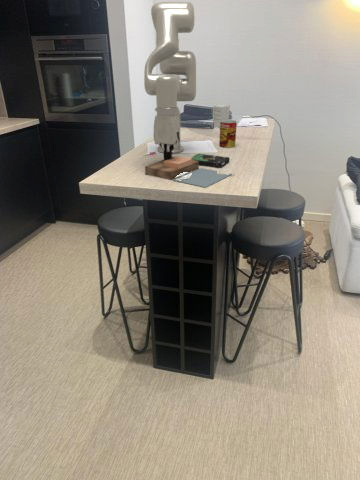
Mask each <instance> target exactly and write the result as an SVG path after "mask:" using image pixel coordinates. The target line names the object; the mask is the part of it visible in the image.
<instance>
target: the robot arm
mask: <svg viewBox="0 0 360 480" xmlns="http://www.w3.org/2000/svg"><path fill="white" fill-rule="evenodd" d="M150 12H151V13H150V14H151V20H152V24H153V27H154V29H155V33H156V39H155V43H156V44H155V45H156V47H155V49H154V50H153V51H151V52H150V54H149V56H148V58H147V60H146V61H145V63H144V73H143V74H144V79H143V80H144V90H145V93H146V94H147V95H149V96H155V97H156V98H155V99H156V100H155V101H156V108H155V109H154V111H155V112H156V115H155V117H154V122H153V141H154V144H155V145H158V147H157V149H156V150H157V152H160V153H163V160H164V161H166V160H169V159H172V157H173V154H178V153H182V152H184V150H185V149H184V148H185V147H183V146H182V145H181V111H180V108H179V107H178V102H192V101H194V100H195V99H196V95H197V60H196V56H195V53H194V52H192V51H190V50H180V48H179V45H180V44H179V42H180V41H179V40H180V39H179V34H189V33H191V32H193V30H194V27H195V8H194V5H193V4H192V3H191V2H189V1H162V2H156V3H154V4H153V5H152V6H151V9H150ZM157 65H159V71H160V74H159V73H155V74H154V73H153V70H154V68H155V67H156V66H157ZM181 76H184V77H185V78H181Z"/></svg>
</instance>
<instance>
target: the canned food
mask: <svg viewBox="0 0 360 480" xmlns="http://www.w3.org/2000/svg"><path fill="white" fill-rule="evenodd" d="M237 122H238V121H237V120H234V119H229V120H222V121H220V128H219V145H218V146H219V147H220V148H222V149H232V148H235V147H236V141H237Z"/></svg>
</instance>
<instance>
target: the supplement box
mask: <svg viewBox="0 0 360 480" xmlns="http://www.w3.org/2000/svg"><path fill="white" fill-rule="evenodd" d="M222 120H230V105H226V104H217V105H213V107H212V123H213V122H214V126H215V127H214V128H216V127H218V128H217V129H220V121H222Z"/></svg>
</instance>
